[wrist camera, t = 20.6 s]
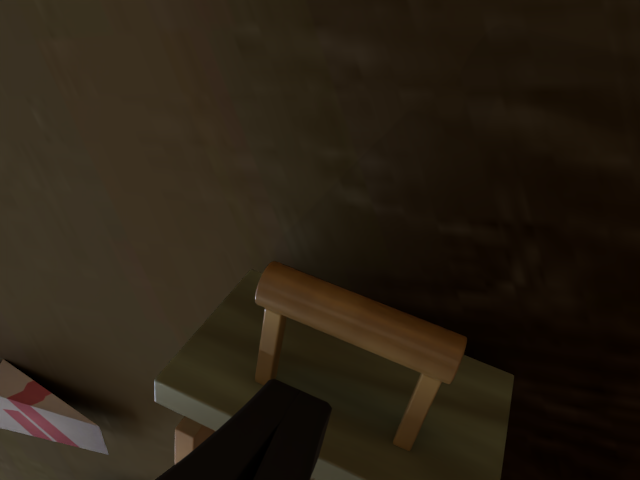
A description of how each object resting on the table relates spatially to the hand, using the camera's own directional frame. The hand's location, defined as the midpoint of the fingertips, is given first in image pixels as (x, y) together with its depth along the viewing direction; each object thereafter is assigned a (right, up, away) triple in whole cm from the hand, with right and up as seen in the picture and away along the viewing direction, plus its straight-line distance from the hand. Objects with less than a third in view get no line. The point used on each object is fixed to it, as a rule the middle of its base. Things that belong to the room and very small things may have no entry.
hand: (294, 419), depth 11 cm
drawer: (+2, -3, +13) cm, 14 cm away
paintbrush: (-22, -6, +28) cm, 36 cm away
